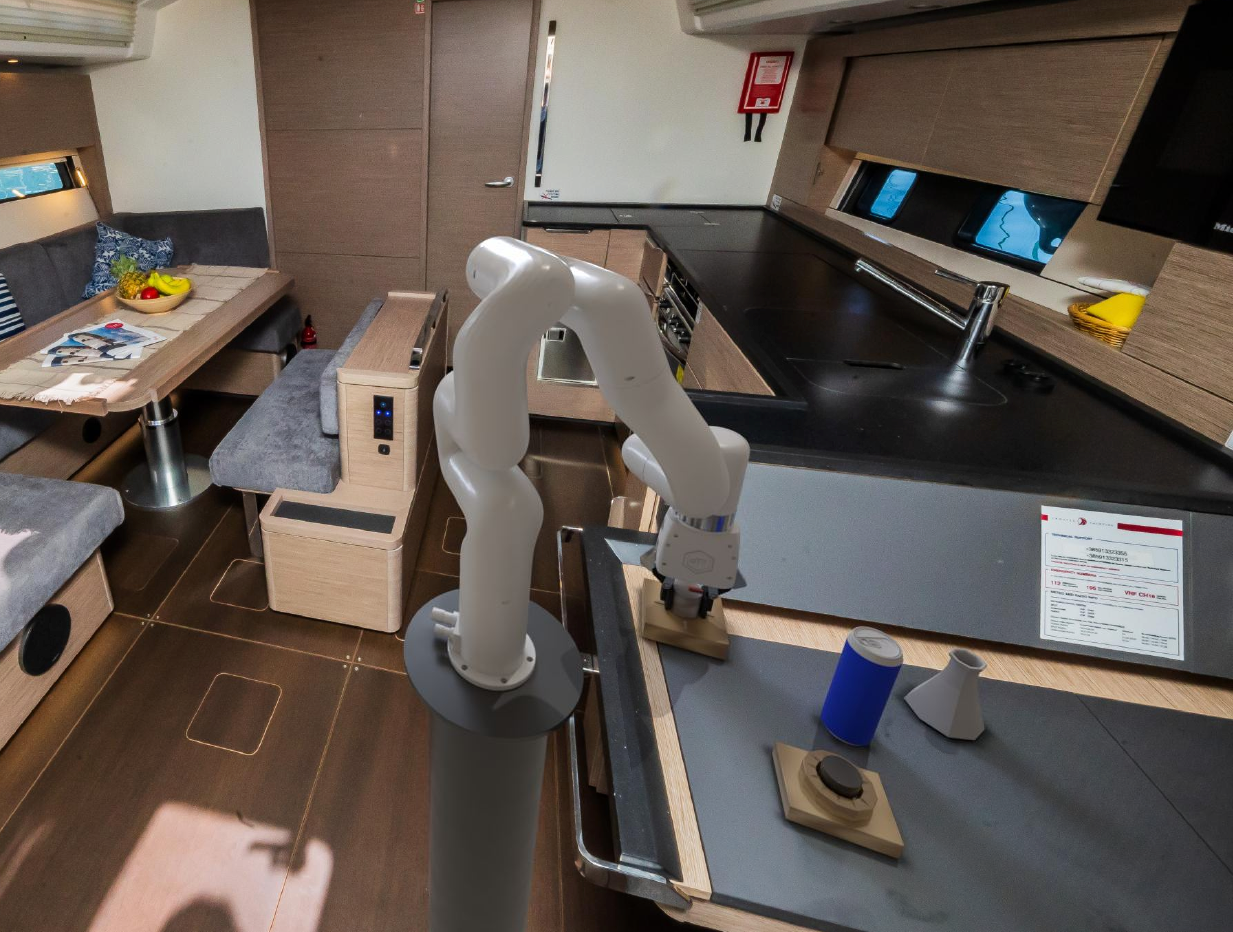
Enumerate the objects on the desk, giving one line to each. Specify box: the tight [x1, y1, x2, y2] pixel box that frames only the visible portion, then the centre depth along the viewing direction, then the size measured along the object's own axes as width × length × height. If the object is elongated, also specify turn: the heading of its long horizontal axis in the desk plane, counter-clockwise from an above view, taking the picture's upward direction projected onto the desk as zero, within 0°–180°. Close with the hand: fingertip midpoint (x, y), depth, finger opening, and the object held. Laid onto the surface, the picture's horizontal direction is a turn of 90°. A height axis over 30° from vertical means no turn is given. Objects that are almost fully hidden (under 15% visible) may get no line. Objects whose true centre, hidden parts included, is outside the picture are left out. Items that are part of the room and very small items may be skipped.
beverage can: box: [820, 626, 904, 747], centre depth 73 cm, size 5×5×15 cm
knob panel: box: [641, 577, 730, 661], centre depth 91 cm, size 11×10×3 cm
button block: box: [771, 741, 905, 860], centre depth 67 cm, size 10×8×4 cm
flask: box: [903, 647, 988, 741], centre depth 75 cm, size 7×7×10 cm
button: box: [819, 755, 863, 798], centre depth 66 cm, size 4×4×2 cm
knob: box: [671, 579, 703, 619], centre depth 90 cm, size 4×4×4 cm
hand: (684, 607), depth 91 cm, fingers open, 4 cm apart
